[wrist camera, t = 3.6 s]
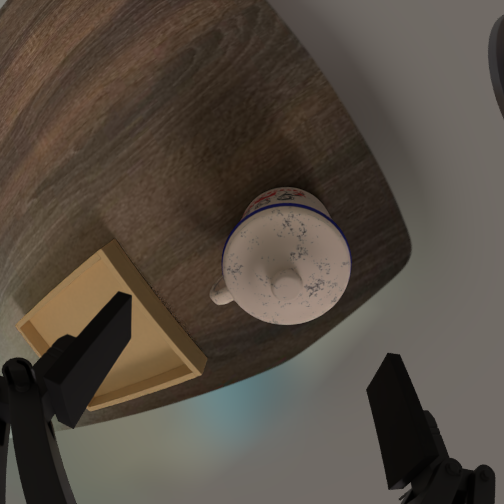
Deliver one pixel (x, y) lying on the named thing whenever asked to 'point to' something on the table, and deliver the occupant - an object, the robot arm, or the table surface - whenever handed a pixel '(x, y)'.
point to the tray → (142, 327)
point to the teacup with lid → (284, 259)
